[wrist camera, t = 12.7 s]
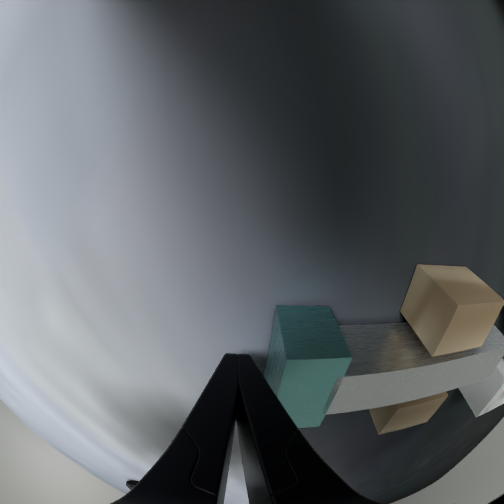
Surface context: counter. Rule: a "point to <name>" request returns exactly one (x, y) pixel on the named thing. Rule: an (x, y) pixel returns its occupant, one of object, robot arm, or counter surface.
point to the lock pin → (361, 364)
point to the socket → (486, 391)
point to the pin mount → (441, 330)
